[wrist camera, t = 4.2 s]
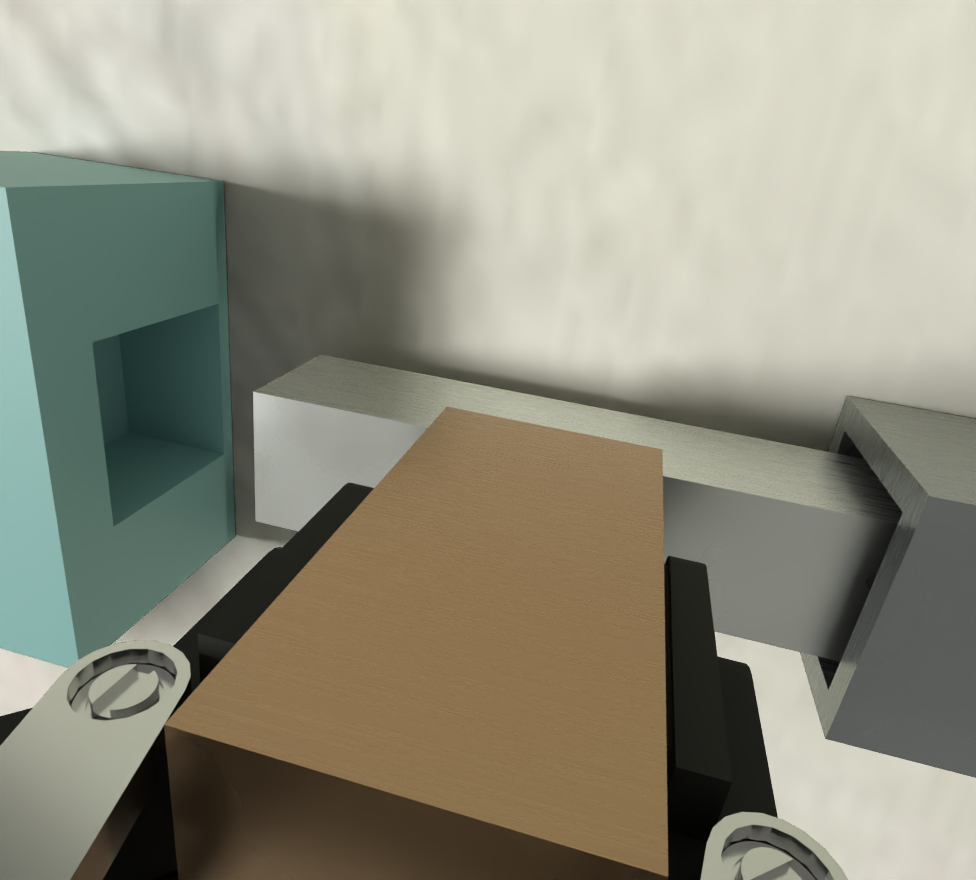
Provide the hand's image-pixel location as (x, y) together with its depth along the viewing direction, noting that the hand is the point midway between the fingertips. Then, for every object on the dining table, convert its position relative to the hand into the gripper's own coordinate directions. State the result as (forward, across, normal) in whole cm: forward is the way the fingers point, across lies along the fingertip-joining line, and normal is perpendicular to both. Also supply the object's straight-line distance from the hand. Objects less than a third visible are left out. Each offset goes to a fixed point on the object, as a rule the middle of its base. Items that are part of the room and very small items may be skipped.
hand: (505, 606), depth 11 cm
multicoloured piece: (+6, -4, 0) cm, 7 cm away
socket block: (+7, +12, 0) cm, 14 cm away
